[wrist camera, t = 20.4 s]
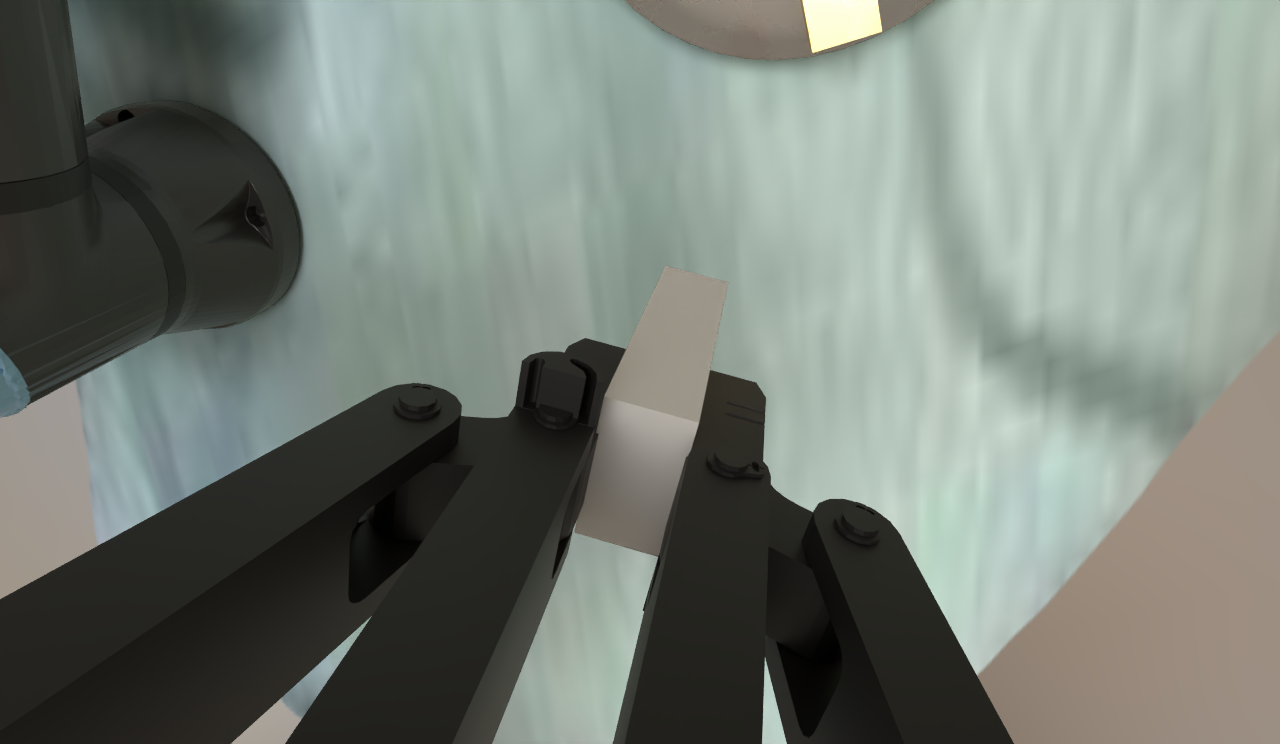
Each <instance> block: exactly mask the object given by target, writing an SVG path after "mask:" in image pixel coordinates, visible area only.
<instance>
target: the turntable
mask: <svg viewBox="0 0 1280 744" xmlns="http://www.w3.org/2000/svg"><path fill="white" fill-rule="evenodd" d="M625 1H626V2H627V3H628V4H629V5H630V6H631V7H632V8H633V9H635V10H636V11H637V12H638V13H639V14H641V15H642V16H644V17H645V18H647V19H648V20H649V21H651V22H652V23H654V24H655V25H657V26H658V27H659V28H661V29H662V30H664V31H666V32H668V33H670V34H672V35H674V36H676V37H678V38H680V39H682V40H684V41H686V42H688V43H690V44H693V45H696V46H699V47H702V48H705V49H707V50H710V51H713V52H716V53H720V54H726V55H731V56H736V57H742V58H747V59H768V60H783V59H793V58H804V57H811V56H816V55H820V54H824V53H828V52H833V51H837V50H841V49H844V48H846V47H849V46H852V45H854V44H857V43H860V42H862V41H865V40H868V39H870V38H873V37H875V36H877V35H879V34H880V33H882V32H884V31H886V30H888V29H890V28H892V27H894V26H896V25H897V24H899V23H901V22H903V21H905V20H906V19H908V18H909V17H911V16H912V15H914V14H915V13H916V12H918V11H919V10H921V9H922V8H924V7H925V6H927V5H928V4H930V3H931V2H932V1H934V0H625Z"/></svg>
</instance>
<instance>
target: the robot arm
mask: <svg viewBox="0 0 1280 744" xmlns="http://www.w3.org/2000/svg"><path fill="white" fill-rule="evenodd" d="M298 258H299V232H298V225H297V220H296V216H295V212H294V209H293V206H292V203H291V200H290V197H289V195H288V193H287V190H286V188H285V186H284V184H283V182H282V181H281V179H280V177H279V175H278V174H277V172H276V170H275V169H274V167H273V166H272V165H271V163H270V162H269V160H268V159H267V158H266V157H265V155H264V154H263V153H262V152H261V151H260V149H259V148H258V147H257V146H256V145H255V144H254V143H253V142H252V141H251V140H250V139H249V138H248V137H247V136H246V135H245V134H243V133H242V132H241V131H240V130H239V129H237V128H236V127H235V126H233V125H232V124H231V123H229V122H228V121H226V120H224V119H223V118H221V117H220V116H218V115H216V114H214V113H212V112H210V111H208V110H206V109H203V108H201V107H198V106H195V105H192V104H188V103H184V102H178V101H168V100H161V101H151V102H144V103H136V104H130V105H125V106H121V107H118V108H115V109H112V110H110V111H107V112H105V113H103V114H102V115H100V116H99V117H97V118H96V119H94V120H93V121H91V122H90V123H88V124H87V125H85V126H84V119H83V111H82V104H81V97H80V90H79V82H78V75H77V68H76V60H75V53H74V46H73V39H72V31H71V24H70V17H69V10H68V2H67V0H0V417H7V416H11V415H14V414H17V413H19V412H20V411H21V410H23V409H24V408H26V406H27V405H29V404H30V403H33V402H35V401H36V400H38V399H40V398H42V397H44V396H46V395H48V394H50V393H51V392H53V391H55V390H57V389H59V388H61V387H63V386H65V385H66V384H68V383H70V382H72V381H74V380H76V379H78V378H80V377H82V376H83V375H85V374H87V373H89V372H91V371H93V370H95V369H97V368H99V367H100V366H102V365H104V364H106V363H108V362H110V361H112V360H114V359H115V358H117V357H119V356H121V355H123V354H125V353H127V352H129V351H131V350H132V349H134V348H136V347H138V346H140V345H142V344H144V343H146V342H147V341H149V340H151V339H153V338H155V337H157V336H159V335H162V334H170V333H177V332H185V331H193V330H199V329H216V328H225V327H229V326H233V325H236V324H239V323H242V322H244V321H246V320H249V319H250V318H252V317H254V316H256V315H257V314H259V313H261V312H263V311H265V310H266V309H268V308H270V307H271V306H272V305H274V304H275V303H276V302H277V301H278V300H279V299H280V298H281V297H282V296H283V295H284V293H285V292H286V291H287V289H288V288H289V286H290V284H291V282H292V280H293V278H294V275H295V272H296V268H297V264H298ZM727 286H728V282H725V281H721V280H717V279H713V278H710V277H706V276H702V275H698V274H695V273H691V272H687V271H683V270H679V269H676V268H672V267H668V266H665V268H664V270H663V273H662V275H661V277H660V279H659V281H658V283H657V285H656V287H655V290H654V292H653V294H652V296H651V298H650V300H649V302H648V304H647V307H646V309H645V311H644V313H643V315H642V317H641V319H640V321H639V323H638V326H637V328H636V330H635V332H634V334H633V336H632V338H631V340H630V343H629V345H628V347H627V349H623V348H620V347H616V346H612V345H609V344H605V343H601V342H598V341H594V340H590V339H587V338H585V339H583V340H580V341H578V342H576V343H574V344H572V345H569V346H568V348H567V349H566V351H565V353H563V352H540V353H536V354H532V355H529V356H528V357H527V358H525V359H524V360H523V361H522V365H521V372H520V378H519V385H518V391H517V398H516V404H515V407H514V408H513V410H512V411H511V413H510V414H509V416H508V417H501V418H477V417H465V416H461V408H462V405H461V403H460V402H459V400H458V399H457V397H456V396H454V395H453V394H451V393H449V392H448V391H446V390H444V389H441V388H438V387H435V386H432V385H427V384H419V383H412V384H403V385H396V386H393V387H390V388H387V389H385V390H382V391H380V392H379V393H377V394H375V395H373V396H371V397H369V398H368V399H366V400H364V401H362V402H360V403H358V404H357V405H355V406H353V407H351V408H349V409H347V410H346V411H344V412H342V413H340V414H338V415H336V416H335V417H333V418H331V419H329V420H327V421H326V422H324V423H322V424H320V425H318V426H316V427H315V428H313V429H311V430H309V431H307V432H305V433H304V434H302V435H300V436H298V437H296V438H294V439H293V440H291V441H289V442H287V443H285V444H283V445H282V446H280V447H278V448H276V449H274V450H272V451H271V452H269V453H267V454H265V455H263V456H261V457H260V458H258V459H256V460H254V461H252V462H251V463H249V464H247V465H245V466H243V467H241V468H240V469H238V470H236V471H234V472H232V473H230V474H229V475H227V476H225V477H223V478H221V479H219V480H218V481H216V482H214V483H212V484H210V485H208V486H207V487H205V488H203V489H201V490H199V491H197V492H196V493H194V494H192V495H190V496H188V497H186V498H185V499H183V500H181V501H179V502H177V503H175V504H174V505H172V506H170V507H168V508H166V509H165V510H163V511H161V512H159V513H157V514H155V515H154V516H152V517H150V518H148V519H146V520H144V521H143V522H141V523H139V524H137V525H135V526H133V527H132V528H130V529H128V530H126V531H124V532H122V533H121V534H119V535H117V536H115V537H113V538H111V539H110V540H108V541H106V542H104V543H102V544H100V545H99V546H97V547H95V548H93V549H91V550H90V551H88V552H86V553H84V554H82V555H80V556H79V557H77V558H75V559H73V560H71V561H70V562H68V563H66V564H64V565H62V566H61V567H58V568H57V569H55V570H53V571H51V572H49V573H47V574H46V575H44V576H42V577H40V578H38V579H37V580H35V581H33V582H31V583H29V584H27V585H25V586H24V587H22V588H20V589H18V590H16V591H15V592H13V593H11V594H9V595H7V596H5V597H4V598H2V599H0V744H231V743H232V742H233V741H234V740H235V739H236V738H237V737H238V736H240V735H241V734H242V733H243V732H244V731H245V730H246V729H247V728H248V727H249V726H251V725H252V724H253V723H254V722H255V721H256V720H257V719H258V718H259V717H260V716H262V715H263V714H264V713H265V712H266V711H267V710H268V709H269V708H270V707H272V706H273V705H274V704H275V703H276V702H277V701H278V700H279V699H280V698H282V697H283V696H284V695H285V694H286V693H287V692H288V691H289V690H290V689H291V688H293V687H294V686H295V685H296V684H297V683H298V682H299V681H300V680H301V679H303V678H304V677H305V676H306V675H307V674H308V673H309V672H310V671H311V670H312V669H314V668H315V667H316V666H317V665H318V664H319V663H320V662H321V661H322V660H323V659H325V658H326V657H327V656H328V655H329V654H330V653H331V652H332V651H333V650H334V649H336V648H337V647H338V646H339V645H340V644H341V643H342V642H343V641H344V640H346V639H347V638H348V637H349V636H350V635H351V634H352V633H353V632H354V631H355V630H357V629H358V628H359V627H360V626H361V625H362V624H363V623H364V622H365V621H366V620H368V619H369V618H370V617H371V616H372V617H371V618H370V620H369V621H368V623H367V624H366V626H365V627H364V629H363V630H362V632H361V633H360V635H359V636H358V637H357V639H356V640H355V642H354V643H353V645H352V646H351V648H350V649H349V651H348V652H347V654H346V655H345V657H344V658H343V659H342V661H341V662H340V664H339V665H338V667H337V668H336V670H335V671H334V673H333V674H332V676H331V677H330V679H329V680H328V681H327V683H326V684H325V686H324V687H323V689H322V690H321V692H320V693H319V695H318V696H317V698H316V699H315V701H314V702H313V704H312V705H311V706H310V708H309V709H308V711H307V712H306V714H305V715H304V717H303V718H302V720H301V721H300V723H299V724H298V726H297V727H296V729H295V730H294V731H293V733H292V734H291V736H290V737H289V739H288V741H287V742H286V743H285V744H492V742H493V740H494V737H495V735H496V732H497V730H498V727H499V725H500V722H501V720H502V717H503V715H504V712H505V710H506V707H507V705H508V702H509V700H510V697H511V694H512V692H513V689H514V687H515V684H516V682H517V679H518V677H519V674H520V672H521V669H522V667H523V664H524V662H525V659H526V657H527V654H528V652H529V649H530V647H531V644H532V642H533V639H534V637H535V634H536V632H537V629H538V627H539V624H540V621H541V619H542V616H543V614H544V611H545V609H546V606H547V604H548V601H549V599H550V596H551V594H552V591H553V589H554V586H555V584H556V581H557V579H558V576H559V574H560V571H561V569H562V566H563V564H564V561H565V559H566V556H567V554H568V550H569V545H570V540H571V536H572V531H573V528H574V525H575V523H576V521H577V523H576V528H575V533H578V534H582V535H585V536H589V537H592V538H595V539H599V540H602V541H606V542H609V543H613V544H616V545H620V546H623V547H627V548H630V549H633V550H637V551H640V552H644V553H647V554H651V555H654V556H658V560H657V563H656V567H655V570H654V574H653V577H652V580H651V584H650V587H649V591H648V594H647V597H646V601H645V604H644V608H643V611H644V615H643V619H642V623H641V628H640V632H639V636H638V640H637V644H636V649H635V653H634V657H633V661H632V665H631V670H630V674H629V678H628V682H627V686H626V691H625V695H624V699H623V703H622V707H621V712H620V716H619V720H618V724H617V728H616V733H615V737H614V741H613V744H762V726H763V696H764V665H765V658H766V662H767V666H768V670H769V674H770V678H771V682H772V686H773V690H774V694H775V698H776V702H777V706H778V710H779V714H780V718H781V722H782V726H783V730H784V734H785V738H786V742H787V744H1014V743H1013V741H1012V739H1011V737H1010V736H1009V734H1008V732H1007V730H1006V728H1005V726H1004V725H1003V723H1002V721H1001V719H1000V717H999V715H998V714H997V712H996V710H995V708H994V706H993V704H992V703H991V701H990V699H989V697H988V695H987V693H986V692H985V690H984V688H983V686H982V684H981V682H980V680H979V679H978V677H977V675H976V673H975V671H974V669H973V668H972V666H971V664H970V662H969V660H968V658H967V657H966V655H965V653H964V651H963V649H962V647H961V646H960V644H959V642H958V640H957V638H956V636H955V635H954V633H953V631H952V629H951V627H950V625H949V624H948V622H947V620H946V618H945V616H944V614H943V613H942V611H941V609H940V607H939V605H938V603H937V601H936V600H935V598H934V596H933V594H932V592H931V590H930V589H929V587H928V585H927V583H926V581H925V579H924V578H923V576H922V574H921V572H920V570H919V568H918V567H917V565H916V563H915V561H914V559H913V557H912V556H911V554H910V552H909V550H908V548H907V546H906V545H905V543H904V541H903V539H902V537H901V535H900V534H899V532H898V531H897V530H896V528H895V527H894V526H893V525H892V523H891V522H890V521H889V520H887V519H886V518H885V517H883V516H882V515H881V514H880V513H878V512H877V511H876V510H874V509H872V508H870V507H867V506H866V505H864V504H861V503H858V502H853V501H849V500H846V499H828V500H826V501H823V502H821V503H819V504H818V505H817V507H816V508H815V510H814V512H811V511H809V510H807V509H805V508H803V507H801V506H799V505H797V504H795V503H794V502H792V501H790V500H788V499H787V498H785V497H784V496H782V495H781V494H780V493H779V492H777V491H776V490H775V489H774V488H773V487H772V486H771V484H770V483H771V476H770V473H769V469H768V467H767V465H766V464H765V463H764V462H763V449H764V427H765V426H764V423H765V406H766V397H765V396H764V394H763V392H762V391H761V389H760V388H759V386H758V385H757V383H755V382H752V381H748V380H744V379H741V378H737V377H733V376H730V375H726V374H722V373H719V372H715V371H711V370H710V368H711V363H712V358H713V353H714V348H715V344H716V339H717V334H718V329H719V324H720V319H721V315H722V310H723V305H724V300H725V295H726V291H727Z"/></svg>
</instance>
